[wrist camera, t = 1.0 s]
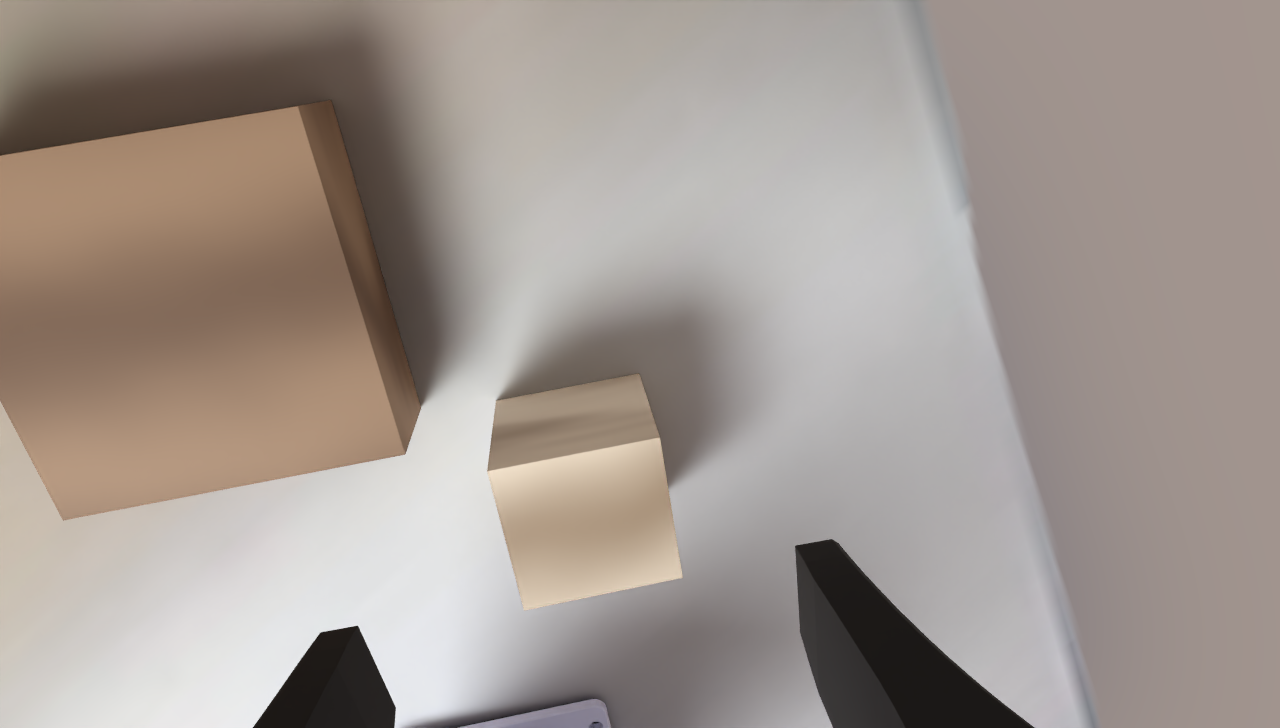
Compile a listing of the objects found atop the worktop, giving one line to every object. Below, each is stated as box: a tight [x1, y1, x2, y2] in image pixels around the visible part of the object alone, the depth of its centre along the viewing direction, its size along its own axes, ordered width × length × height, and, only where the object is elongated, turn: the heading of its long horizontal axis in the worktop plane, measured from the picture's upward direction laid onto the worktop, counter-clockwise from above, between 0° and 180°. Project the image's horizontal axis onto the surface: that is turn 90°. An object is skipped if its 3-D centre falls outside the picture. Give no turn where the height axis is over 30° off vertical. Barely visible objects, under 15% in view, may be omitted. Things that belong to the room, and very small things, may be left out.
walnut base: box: [0, 100, 421, 520], centre depth 20 cm, size 9×9×3 cm
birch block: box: [487, 373, 683, 611], centre depth 23 cm, size 4×4×4 cm
